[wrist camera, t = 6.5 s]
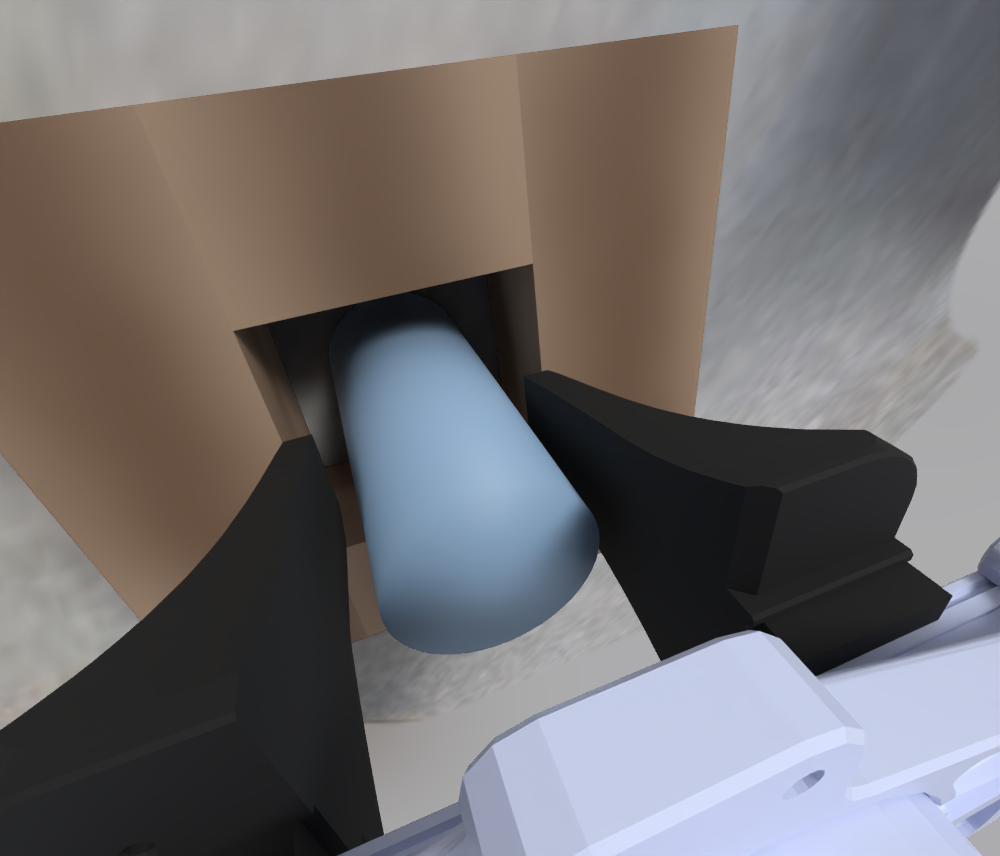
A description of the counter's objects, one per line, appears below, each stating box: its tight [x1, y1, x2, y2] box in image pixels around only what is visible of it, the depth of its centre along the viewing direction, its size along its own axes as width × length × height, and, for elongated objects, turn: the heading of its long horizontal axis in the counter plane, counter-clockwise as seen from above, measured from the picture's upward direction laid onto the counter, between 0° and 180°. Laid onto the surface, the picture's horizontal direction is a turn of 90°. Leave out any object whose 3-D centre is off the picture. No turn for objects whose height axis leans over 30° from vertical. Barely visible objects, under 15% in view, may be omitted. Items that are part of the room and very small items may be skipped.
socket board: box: [0, 25, 739, 643], centre depth 14 cm, size 16×14×4 cm
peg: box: [330, 293, 600, 654], centre depth 12 cm, size 4×4×9 cm
